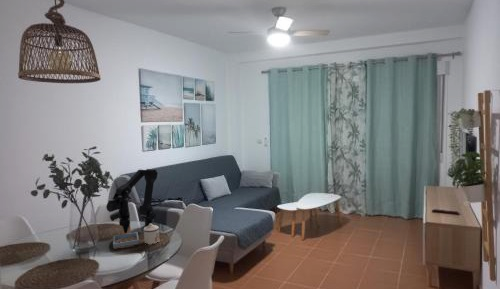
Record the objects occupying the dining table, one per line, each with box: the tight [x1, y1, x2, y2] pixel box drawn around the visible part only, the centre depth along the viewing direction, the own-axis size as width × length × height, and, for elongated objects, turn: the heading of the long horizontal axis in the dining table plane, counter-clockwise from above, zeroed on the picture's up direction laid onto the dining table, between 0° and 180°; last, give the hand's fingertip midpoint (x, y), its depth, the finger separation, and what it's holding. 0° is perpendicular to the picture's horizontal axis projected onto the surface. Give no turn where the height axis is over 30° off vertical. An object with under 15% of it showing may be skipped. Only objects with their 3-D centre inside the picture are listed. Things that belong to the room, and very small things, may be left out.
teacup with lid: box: [142, 223, 160, 244], centre depth 203 cm, size 12×9×12 cm
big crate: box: [112, 231, 140, 248], centre depth 202 cm, size 14×14×4 cm
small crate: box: [119, 224, 132, 235], centre depth 213 cm, size 6×6×6 cm
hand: (125, 231), depth 213 cm, fingers closed on small crate, 6 cm apart
